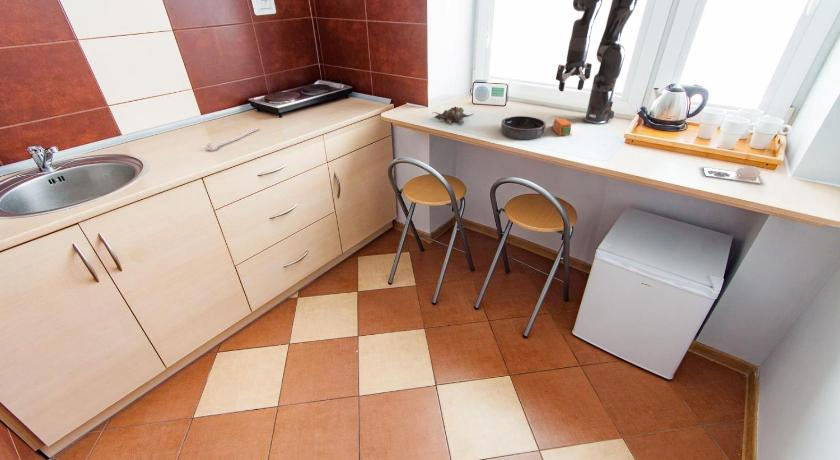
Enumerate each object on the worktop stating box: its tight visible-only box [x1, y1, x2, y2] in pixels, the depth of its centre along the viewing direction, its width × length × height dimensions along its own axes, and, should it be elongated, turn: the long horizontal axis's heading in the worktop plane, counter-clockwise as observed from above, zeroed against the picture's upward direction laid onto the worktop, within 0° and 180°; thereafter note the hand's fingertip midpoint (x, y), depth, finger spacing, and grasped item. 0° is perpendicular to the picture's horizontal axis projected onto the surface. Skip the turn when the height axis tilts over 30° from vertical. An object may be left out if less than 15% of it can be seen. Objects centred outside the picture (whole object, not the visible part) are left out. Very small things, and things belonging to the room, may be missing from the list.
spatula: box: [206, 127, 259, 152], centre depth 170 cm, size 28×4×3 cm, turn 158°
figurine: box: [432, 106, 474, 125], centre depth 186 cm, size 20×6×17 cm
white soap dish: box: [703, 165, 761, 185], centre depth 129 cm, size 15×7×4 cm, turn 64°
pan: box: [500, 115, 547, 141], centre depth 168 cm, size 19×19×4 cm
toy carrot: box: [552, 118, 572, 136], centre depth 169 cm, size 13×4×5 cm, turn 3°
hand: (570, 90), depth 164 cm, fingers open, 8 cm apart
